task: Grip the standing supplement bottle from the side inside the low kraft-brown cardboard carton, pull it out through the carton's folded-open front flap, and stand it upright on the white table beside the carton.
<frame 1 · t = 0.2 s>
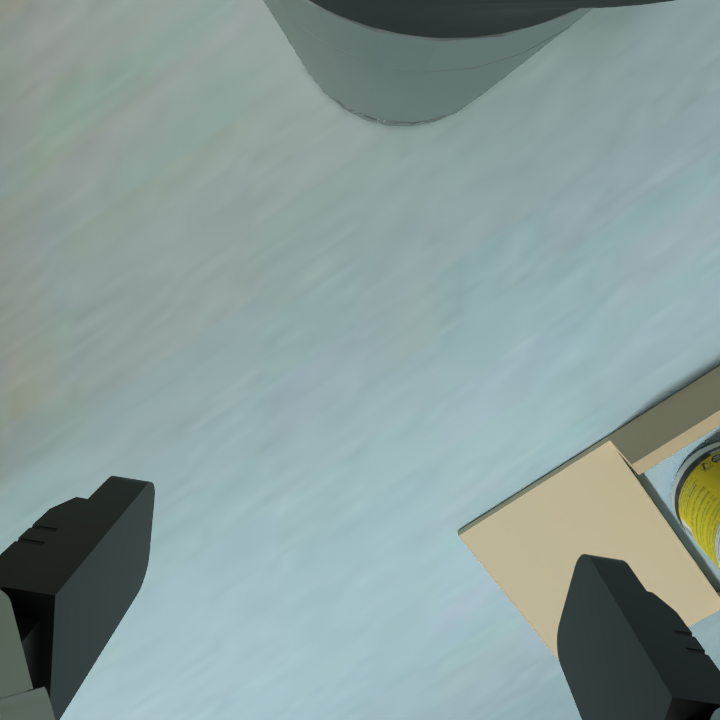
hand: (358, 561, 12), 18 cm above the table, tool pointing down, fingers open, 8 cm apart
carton: (712, 494, 30), on the table
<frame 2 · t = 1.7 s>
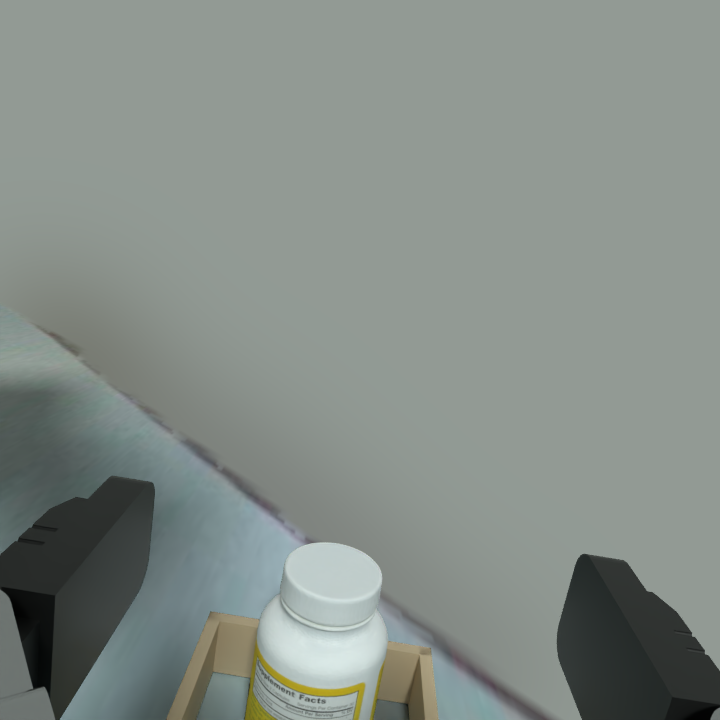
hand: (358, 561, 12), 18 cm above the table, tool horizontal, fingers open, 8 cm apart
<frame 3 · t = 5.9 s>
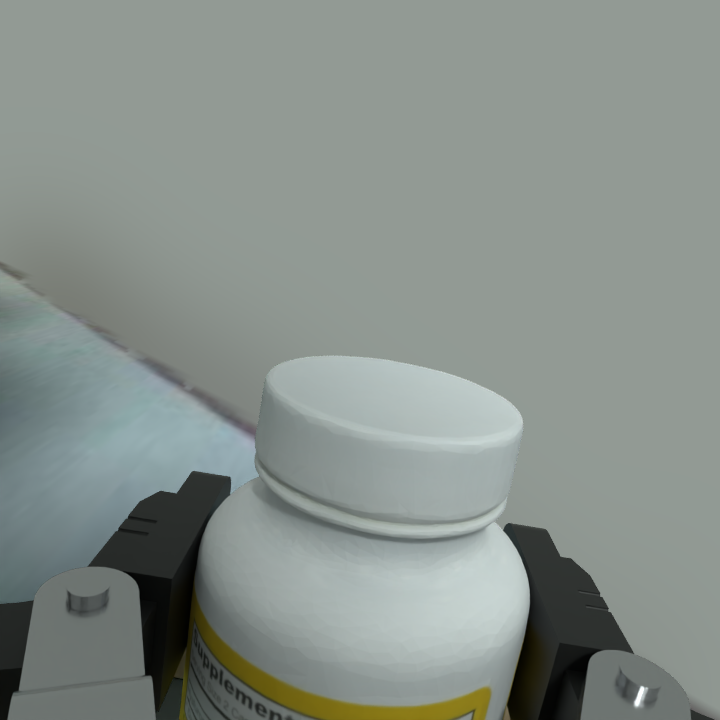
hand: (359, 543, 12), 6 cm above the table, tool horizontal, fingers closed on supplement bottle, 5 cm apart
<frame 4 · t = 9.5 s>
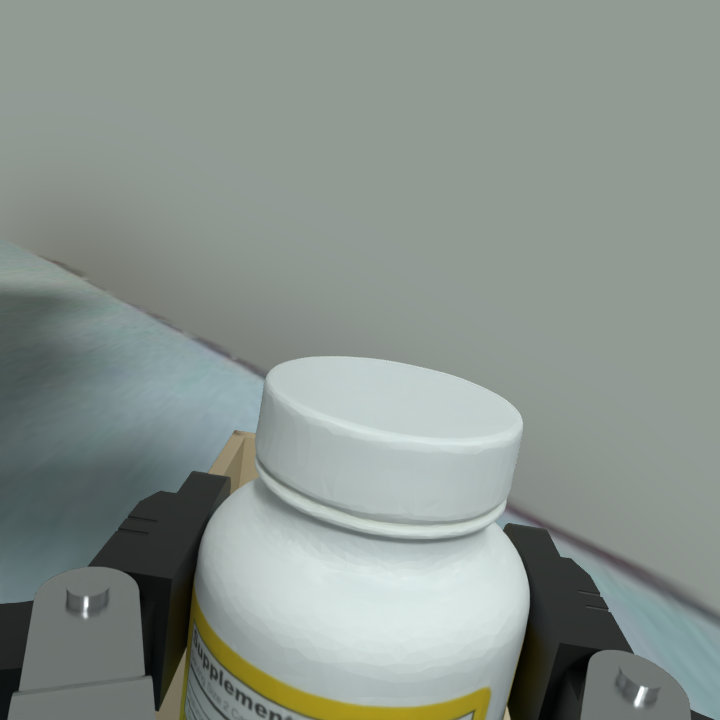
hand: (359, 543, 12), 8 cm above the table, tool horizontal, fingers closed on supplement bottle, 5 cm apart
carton: (337, 576, 24), on the table
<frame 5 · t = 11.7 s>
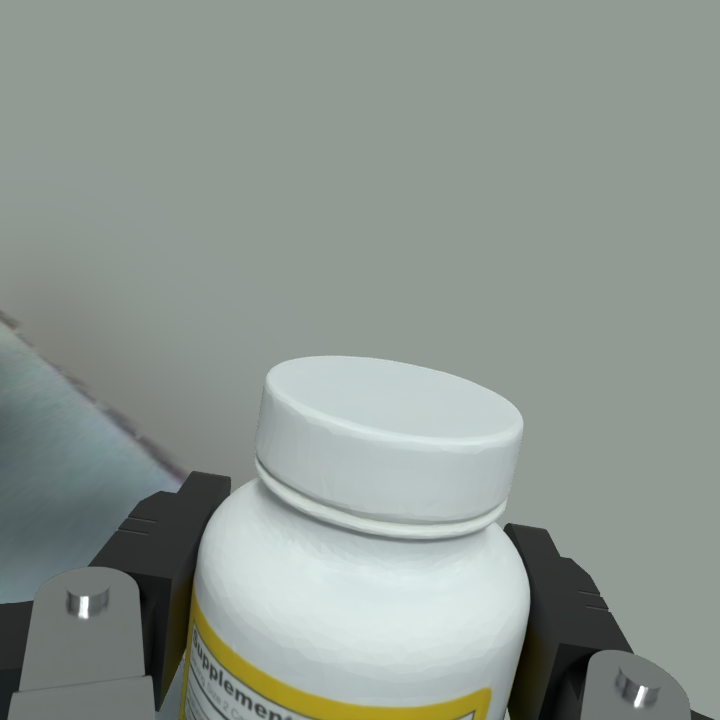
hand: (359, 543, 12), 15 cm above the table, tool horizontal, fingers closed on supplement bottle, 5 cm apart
when the fingers open (7 cm above the table, at t = 13.5 s): supplement bottle stays where it is, on the table.
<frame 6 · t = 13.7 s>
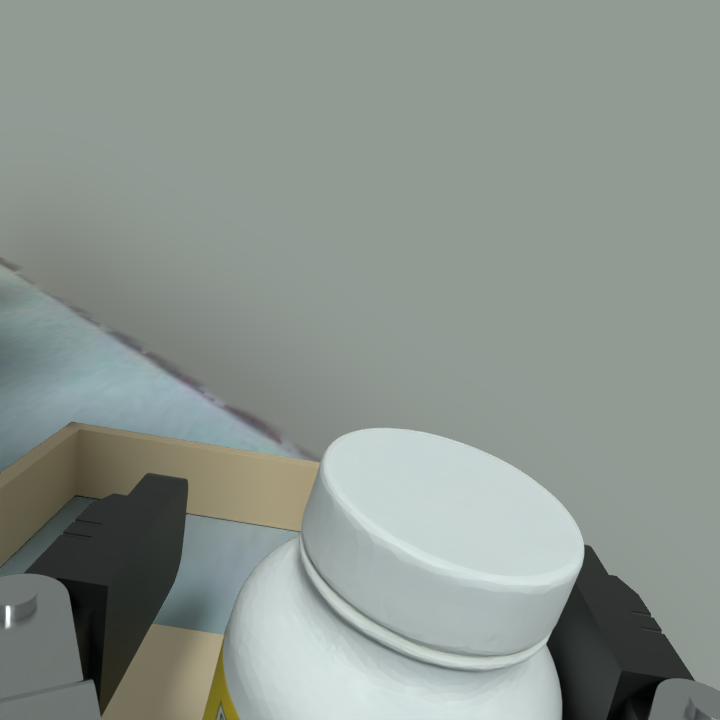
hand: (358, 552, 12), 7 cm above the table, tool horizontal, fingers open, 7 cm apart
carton: (150, 582, 22), on the table
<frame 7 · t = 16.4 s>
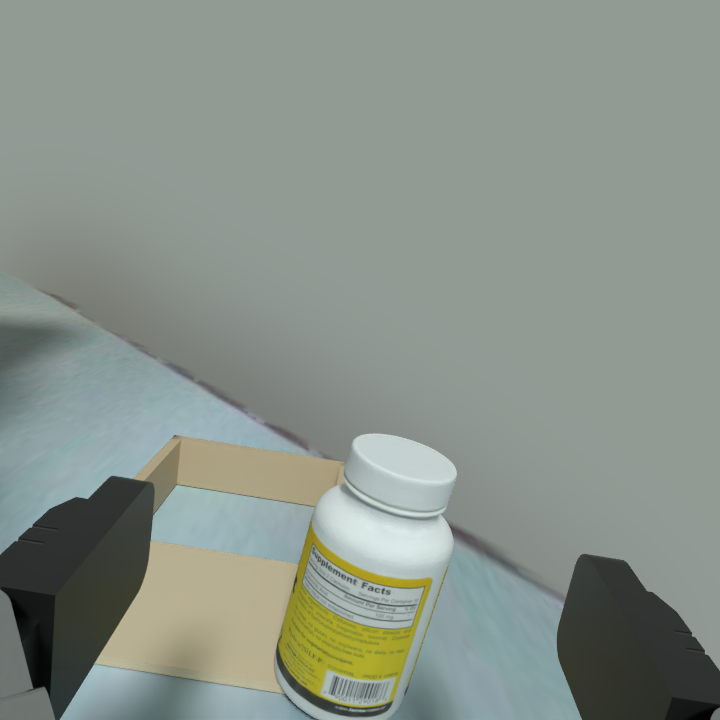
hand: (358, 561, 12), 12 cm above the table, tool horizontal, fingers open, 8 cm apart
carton: (237, 535, 35), on the table
supplement bottle: (335, 681, 25), on the table, touching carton
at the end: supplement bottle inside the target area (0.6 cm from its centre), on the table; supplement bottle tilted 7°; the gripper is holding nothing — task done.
